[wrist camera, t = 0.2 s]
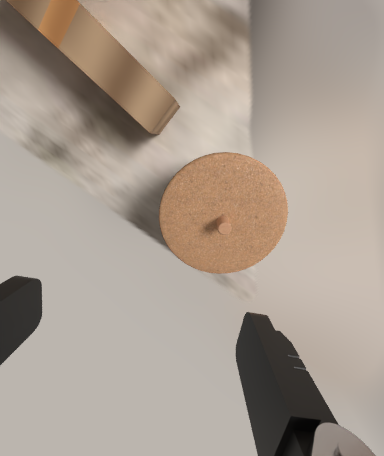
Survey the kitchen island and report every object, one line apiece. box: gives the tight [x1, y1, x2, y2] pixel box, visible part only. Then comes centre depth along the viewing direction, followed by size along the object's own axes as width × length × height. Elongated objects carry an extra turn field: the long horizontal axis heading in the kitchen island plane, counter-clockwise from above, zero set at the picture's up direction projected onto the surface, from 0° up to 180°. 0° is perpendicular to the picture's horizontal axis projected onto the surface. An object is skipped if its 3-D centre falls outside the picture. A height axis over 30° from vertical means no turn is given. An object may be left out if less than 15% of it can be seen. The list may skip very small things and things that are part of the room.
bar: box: [6, 0, 180, 134], centre depth 21 cm, size 18×4×5 cm, turn 48°
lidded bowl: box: [159, 152, 288, 274], centre depth 24 cm, size 13×13×11 cm
